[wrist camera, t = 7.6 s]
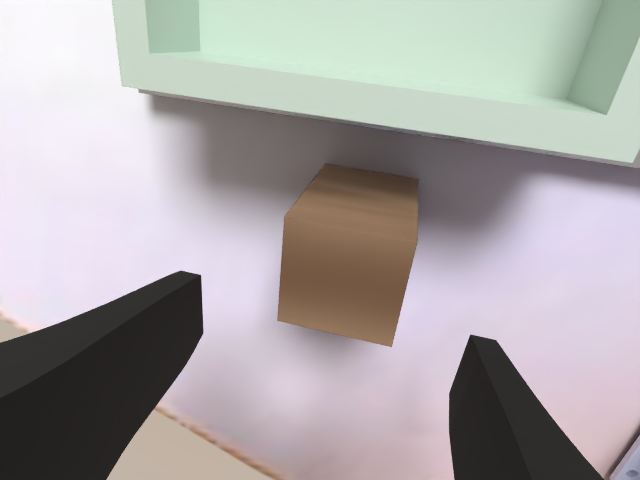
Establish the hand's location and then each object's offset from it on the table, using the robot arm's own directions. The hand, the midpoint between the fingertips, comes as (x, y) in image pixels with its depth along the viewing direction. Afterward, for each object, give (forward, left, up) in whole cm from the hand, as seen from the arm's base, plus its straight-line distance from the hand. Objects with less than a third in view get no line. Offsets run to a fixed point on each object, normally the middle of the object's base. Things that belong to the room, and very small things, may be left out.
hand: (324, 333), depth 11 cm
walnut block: (0, 0, -8) cm, 8 cm away
